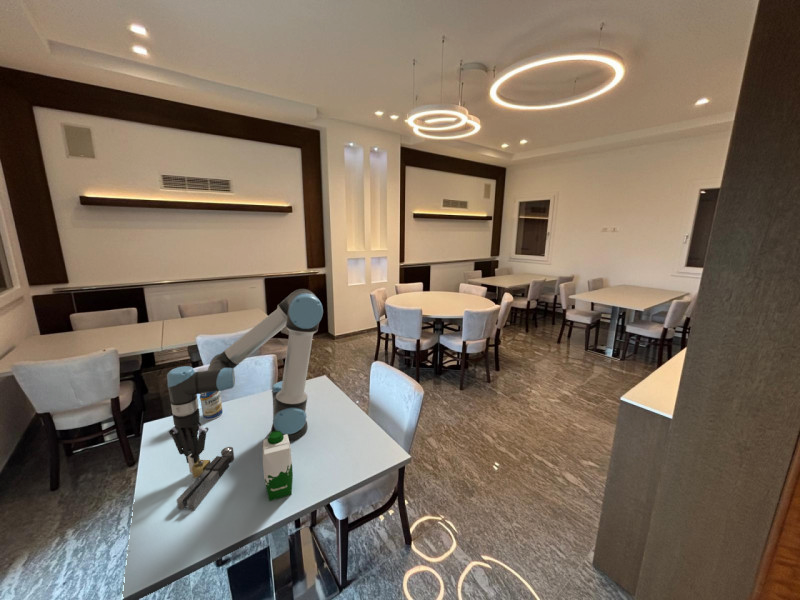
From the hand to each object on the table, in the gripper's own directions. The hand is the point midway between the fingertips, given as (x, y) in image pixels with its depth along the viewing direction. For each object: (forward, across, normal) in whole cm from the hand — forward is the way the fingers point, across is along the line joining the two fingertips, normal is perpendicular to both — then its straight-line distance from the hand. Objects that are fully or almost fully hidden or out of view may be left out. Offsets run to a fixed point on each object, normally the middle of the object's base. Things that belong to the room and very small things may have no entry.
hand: (194, 469), depth 112 cm
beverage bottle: (+2, -16, +36) cm, 40 cm away
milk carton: (+2, +34, -6) cm, 34 cm away
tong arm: (+1, +6, -5) cm, 8 cm away
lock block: (+1, +3, 0) cm, 3 cm away
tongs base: (+1, +8, -3) cm, 9 cm away
